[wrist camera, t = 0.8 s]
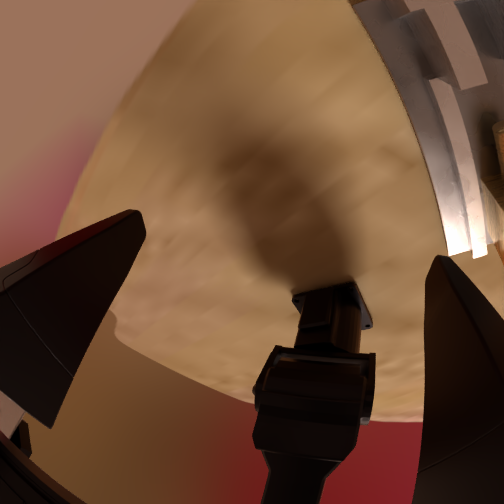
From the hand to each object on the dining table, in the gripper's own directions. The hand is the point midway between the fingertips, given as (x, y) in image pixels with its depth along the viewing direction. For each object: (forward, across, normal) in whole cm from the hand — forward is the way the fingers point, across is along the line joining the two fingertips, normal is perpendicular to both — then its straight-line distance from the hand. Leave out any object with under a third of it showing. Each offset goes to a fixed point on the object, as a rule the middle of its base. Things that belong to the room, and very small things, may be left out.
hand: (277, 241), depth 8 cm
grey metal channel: (+13, -12, -3) cm, 18 cm away
